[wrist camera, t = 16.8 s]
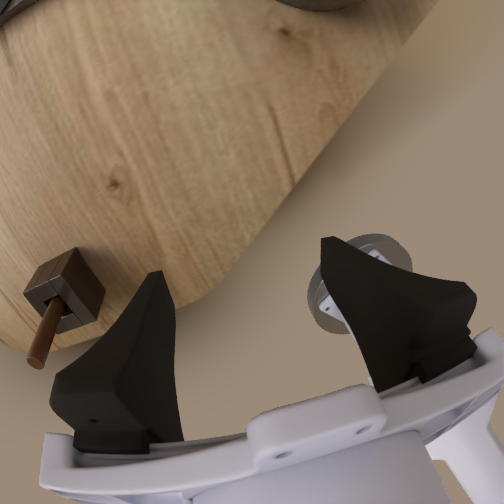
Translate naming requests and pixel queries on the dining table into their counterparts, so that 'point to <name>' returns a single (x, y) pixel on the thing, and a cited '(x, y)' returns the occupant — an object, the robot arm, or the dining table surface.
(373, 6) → the dining table surface
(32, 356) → the brown cylindrical rod
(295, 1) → the bowl
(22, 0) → the picture frame
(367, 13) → the dining table surface
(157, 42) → the dining table surface
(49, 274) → the stand
